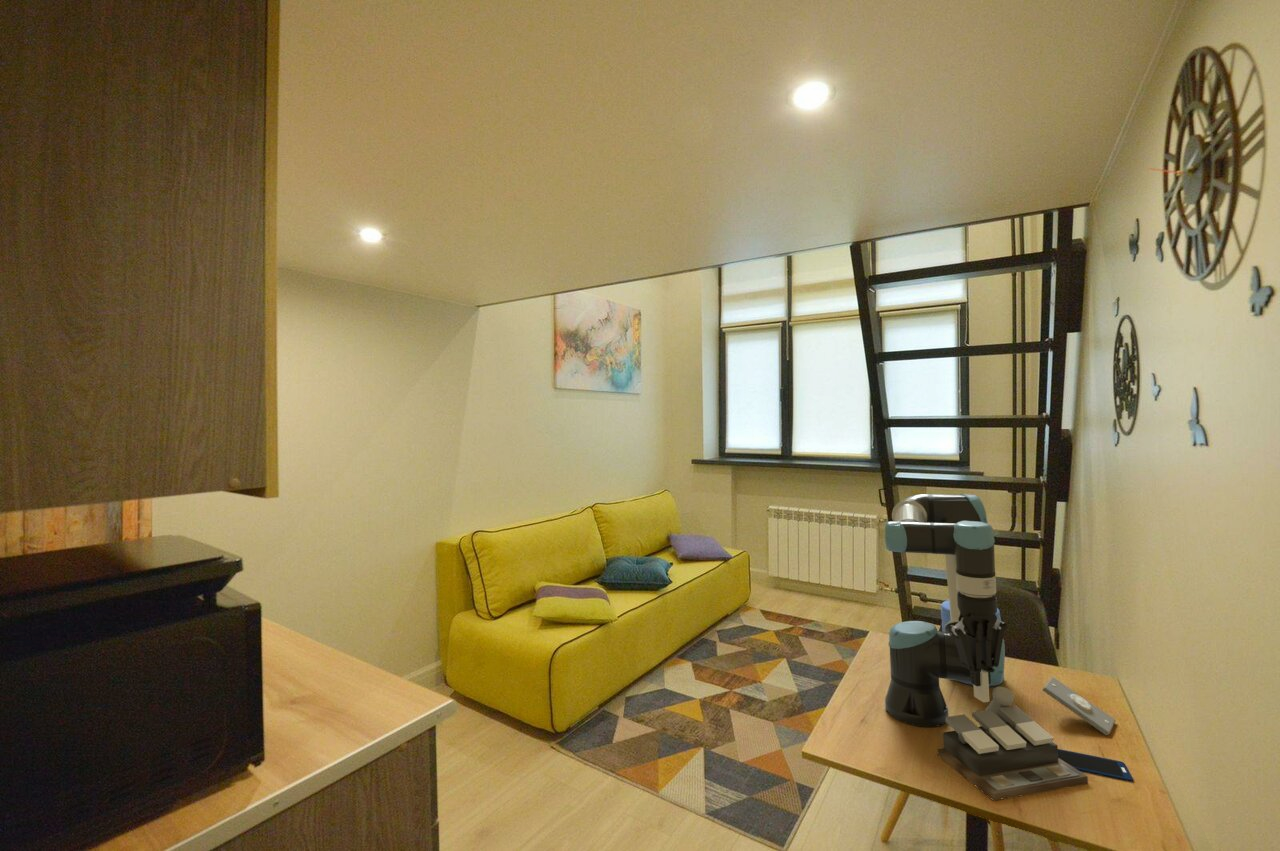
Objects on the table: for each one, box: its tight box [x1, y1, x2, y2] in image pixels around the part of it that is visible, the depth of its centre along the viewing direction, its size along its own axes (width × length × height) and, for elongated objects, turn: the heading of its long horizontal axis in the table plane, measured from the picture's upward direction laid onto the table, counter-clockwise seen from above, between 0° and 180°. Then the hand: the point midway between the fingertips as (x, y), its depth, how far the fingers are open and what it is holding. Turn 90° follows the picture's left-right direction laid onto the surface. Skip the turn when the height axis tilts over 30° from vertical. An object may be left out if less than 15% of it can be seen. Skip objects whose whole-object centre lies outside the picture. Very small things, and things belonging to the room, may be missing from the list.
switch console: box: [937, 722, 1089, 801], centre depth 121 cm, size 16×23×5 cm
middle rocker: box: [971, 709, 1027, 750], centre depth 123 cm, size 10×5×3 cm, turn 11°
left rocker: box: [945, 713, 999, 754], centre depth 122 cm, size 10×5×3 cm, turn 11°
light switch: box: [1041, 676, 1116, 736], centre depth 139 cm, size 8×6×14 cm
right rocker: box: [998, 704, 1055, 746], centre depth 125 cm, size 10×5×3 cm, turn 11°
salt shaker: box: [985, 685, 1015, 722], centre depth 133 cm, size 6×6×13 cm
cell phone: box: [1058, 748, 1134, 783], centre depth 121 cm, size 7×14×1 cm, turn 61°
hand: (981, 698), depth 120 cm, fingers closed
